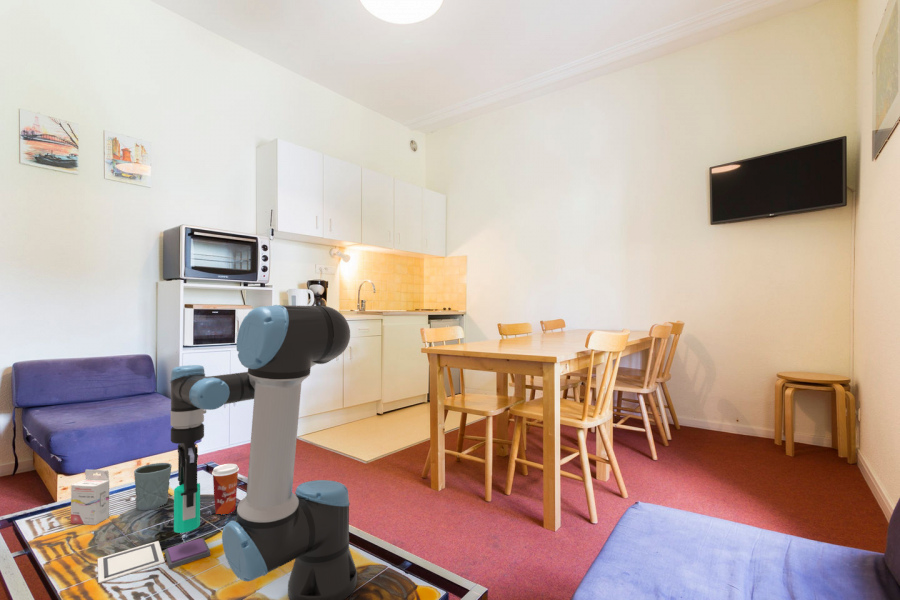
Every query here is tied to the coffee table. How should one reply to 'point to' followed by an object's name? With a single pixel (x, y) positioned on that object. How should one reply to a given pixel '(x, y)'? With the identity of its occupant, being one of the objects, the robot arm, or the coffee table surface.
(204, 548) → the ink pad
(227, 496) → the paper cup
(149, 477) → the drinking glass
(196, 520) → the candle
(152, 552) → the marked card
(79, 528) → the coffee table surface
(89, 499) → the ink cartridge box
